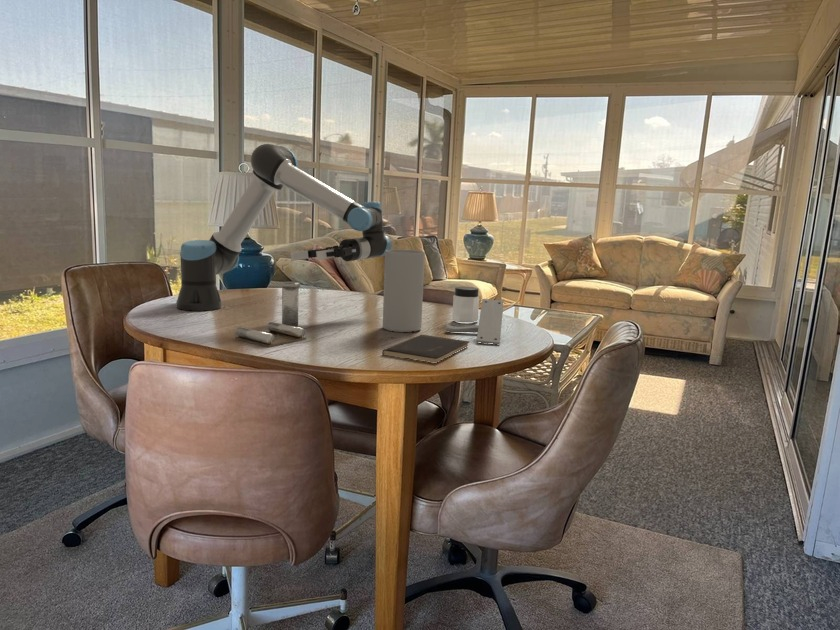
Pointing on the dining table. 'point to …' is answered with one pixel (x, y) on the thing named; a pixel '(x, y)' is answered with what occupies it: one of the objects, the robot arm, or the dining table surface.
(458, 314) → the jar
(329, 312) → the dining table surface
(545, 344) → the dining table surface
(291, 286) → the hinge pin
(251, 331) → the hinge leaf
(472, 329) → the door handle
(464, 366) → the dining table surface
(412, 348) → the hardcover book
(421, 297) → the cylinder vase
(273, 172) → the robot arm
